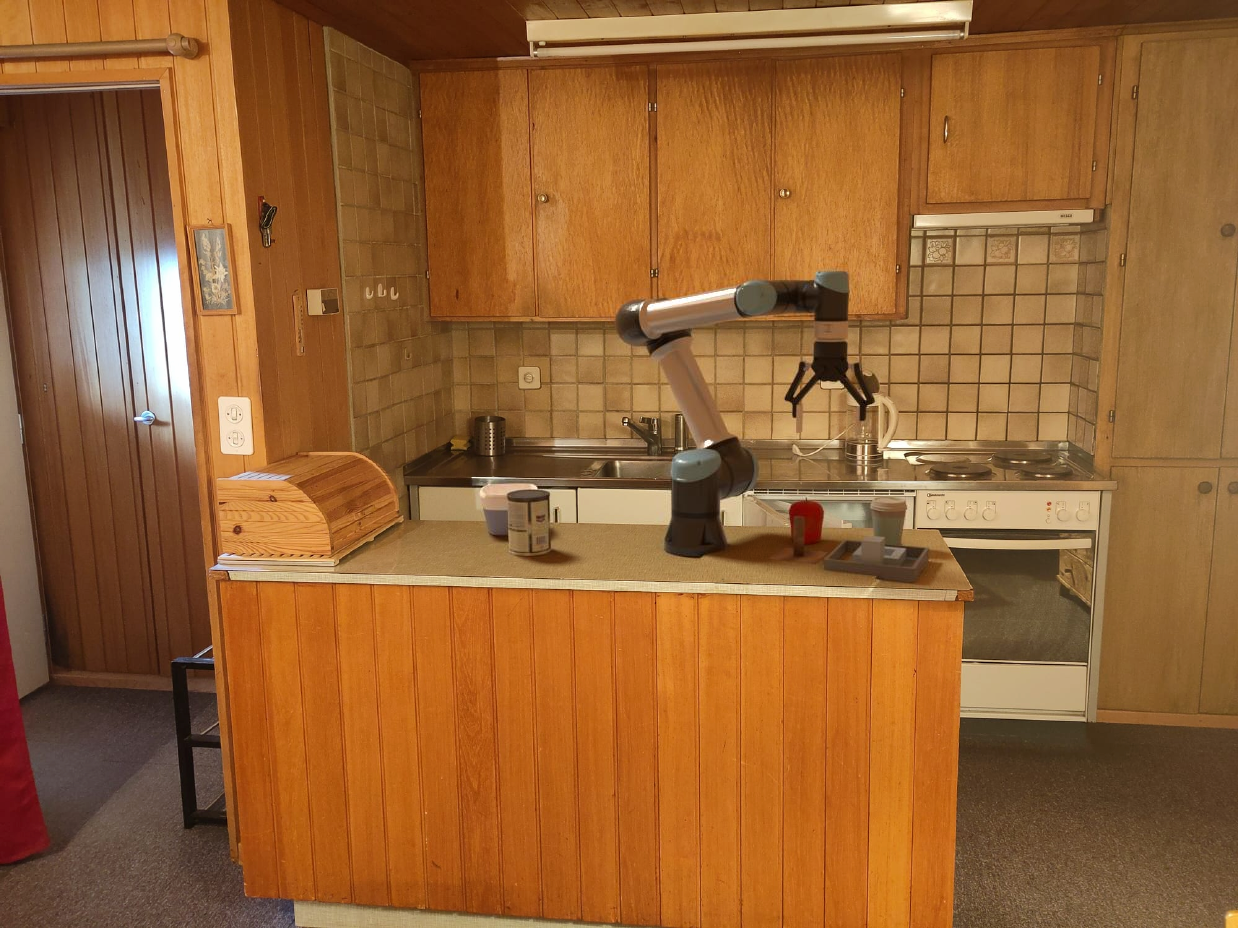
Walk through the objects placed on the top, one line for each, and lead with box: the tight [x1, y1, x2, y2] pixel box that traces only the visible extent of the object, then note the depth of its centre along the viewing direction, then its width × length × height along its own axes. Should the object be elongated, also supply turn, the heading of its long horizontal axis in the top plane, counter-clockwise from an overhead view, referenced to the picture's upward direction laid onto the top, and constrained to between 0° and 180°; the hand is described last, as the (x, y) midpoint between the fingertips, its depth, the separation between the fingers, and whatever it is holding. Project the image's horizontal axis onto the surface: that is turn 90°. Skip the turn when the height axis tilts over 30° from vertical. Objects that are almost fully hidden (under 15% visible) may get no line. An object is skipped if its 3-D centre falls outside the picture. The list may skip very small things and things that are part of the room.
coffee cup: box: [870, 496, 908, 545], centre depth 247 cm, size 8×8×12 cm
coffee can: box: [507, 489, 552, 557], centre depth 248 cm, size 10×10×14 cm
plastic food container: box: [479, 483, 539, 537], centre depth 269 cm, size 15×15×11 cm
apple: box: [788, 496, 825, 545], centre depth 252 cm, size 9×8×12 cm
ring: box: [851, 535, 906, 566], centre depth 232 cm, size 10×15×7 cm, turn 155°
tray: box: [823, 539, 930, 584], centre depth 232 cm, size 19×19×3 cm
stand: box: [768, 516, 828, 565], centre depth 239 cm, size 11×11×10 cm
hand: (828, 434), depth 238 cm, fingers open, 13 cm apart
